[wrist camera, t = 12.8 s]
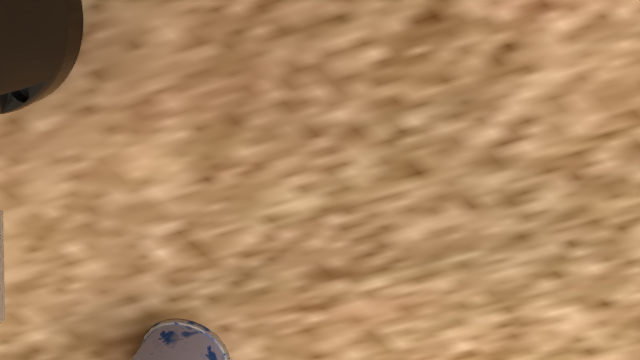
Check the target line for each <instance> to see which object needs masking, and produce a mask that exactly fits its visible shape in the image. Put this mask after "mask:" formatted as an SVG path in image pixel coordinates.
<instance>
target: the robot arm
mask: <svg viewBox="0 0 640 360" xmlns="http://www.w3.org/2000/svg"><path fill="white" fill-rule="evenodd" d="M82 20H83V19H82V8H81V1H80V0H0V114H5V113H9V112H13V111H16V110H19V109H22V108H24V107H26V106H28V105H30V104H32V103H34V102H36V101H38V100H40V99H42V98H44V97H46V96H48V95H49V94H50V93H52V92H53V91H54V90H56V89H57V88H58V87H59V86H60V85H61V84H62V83H63V81H64V80H65V79H66V78H67V76H68V75H69V73H70V71H71V70H72V68H73V66H74V64H75V61H76V59H77V56H78V53H79V49H80V44H81V38H82ZM4 319H5V289H4V245H3V211H0V323H1V322H2V321H3V320H4Z"/></svg>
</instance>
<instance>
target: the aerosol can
mask: <svg viewBox="0 0 640 360" xmlns="http://www.w3.org/2000/svg"><path fill="white" fill-rule="evenodd" d="M132 360H230V357H229V354H228V352H227V349H226V347H225V345H224V344H223V343H222V342H221V340H220V339H219V338H218V336H217V335H215V334H214V333H213V332H211V331H210V330H209V329H207V328H206V327H204V326H202V325H199V324H197V323H195V322H192V321H187V320H181V319H173V320H164V321H162V322H160V323H158V324H156V325H154V326H153V327H152V328H151V329H150V330H149V331H148V332H147V333H146V335H145V336H144V339H143V342H142V345H141V346H140V348H139V349H138V351H137V352H136V354H135V355H134V357H133V358H132Z"/></svg>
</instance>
